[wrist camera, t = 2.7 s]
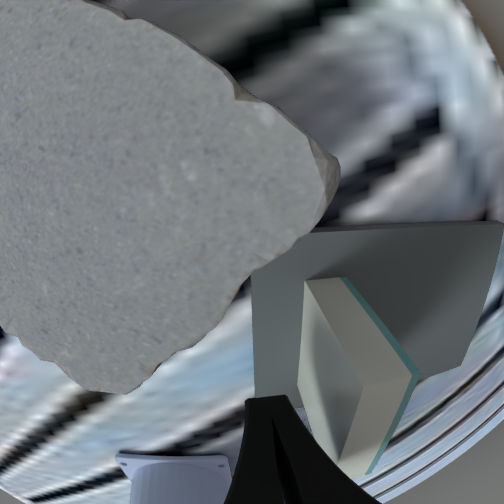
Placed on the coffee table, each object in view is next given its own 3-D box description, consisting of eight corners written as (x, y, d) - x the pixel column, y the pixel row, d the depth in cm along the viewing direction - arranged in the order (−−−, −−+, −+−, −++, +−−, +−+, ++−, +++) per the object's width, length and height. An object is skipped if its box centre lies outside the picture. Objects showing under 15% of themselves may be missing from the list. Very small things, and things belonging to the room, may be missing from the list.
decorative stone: (252, 293, 14) (325, 62, 10) (277, 428, 7) (437, 16, 4) (-28, 225, 11) (-2, 24, 7) (-117, 292, 4) (-105, 5, 1)
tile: (330, 379, 15) (371, 473, 9) (297, 384, 15) (329, 484, 9) (345, 276, 13) (420, 372, 7) (304, 280, 12) (363, 387, 7)
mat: (456, 360, 17) (460, 365, 17) (255, 405, 16) (256, 413, 15) (497, 220, 13) (504, 223, 13) (249, 231, 12) (250, 236, 11)
